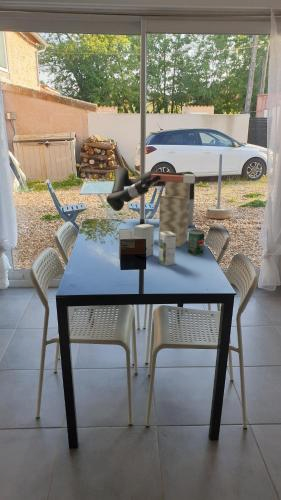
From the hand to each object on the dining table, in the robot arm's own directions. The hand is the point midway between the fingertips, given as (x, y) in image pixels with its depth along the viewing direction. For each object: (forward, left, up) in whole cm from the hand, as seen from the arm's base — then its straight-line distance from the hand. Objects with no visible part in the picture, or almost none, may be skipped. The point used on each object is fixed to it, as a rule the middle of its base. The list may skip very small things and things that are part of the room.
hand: (162, 175), depth 198 cm
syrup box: (+35, -18, -35) cm, 52 cm away
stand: (+9, +2, -35) cm, 36 cm away
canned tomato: (+29, +3, -35) cm, 45 cm away
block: (+4, +4, -3) cm, 6 cm away
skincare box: (+20, -22, -35) cm, 46 cm away
